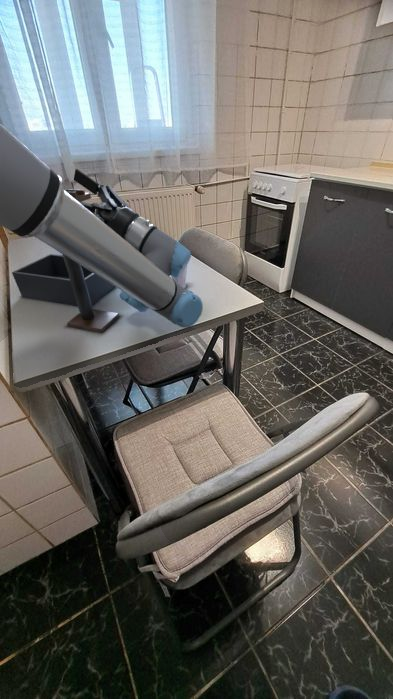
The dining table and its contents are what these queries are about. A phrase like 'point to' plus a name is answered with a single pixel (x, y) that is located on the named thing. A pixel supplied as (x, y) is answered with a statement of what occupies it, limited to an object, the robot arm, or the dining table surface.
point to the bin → (56, 281)
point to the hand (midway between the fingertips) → (57, 178)
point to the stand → (85, 289)
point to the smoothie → (181, 277)
